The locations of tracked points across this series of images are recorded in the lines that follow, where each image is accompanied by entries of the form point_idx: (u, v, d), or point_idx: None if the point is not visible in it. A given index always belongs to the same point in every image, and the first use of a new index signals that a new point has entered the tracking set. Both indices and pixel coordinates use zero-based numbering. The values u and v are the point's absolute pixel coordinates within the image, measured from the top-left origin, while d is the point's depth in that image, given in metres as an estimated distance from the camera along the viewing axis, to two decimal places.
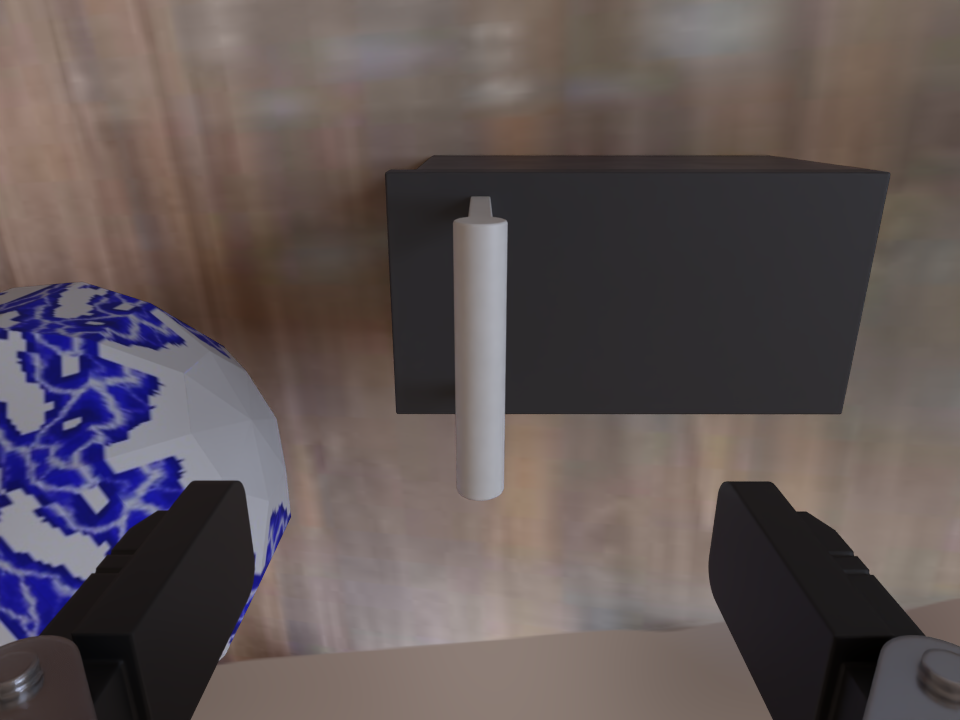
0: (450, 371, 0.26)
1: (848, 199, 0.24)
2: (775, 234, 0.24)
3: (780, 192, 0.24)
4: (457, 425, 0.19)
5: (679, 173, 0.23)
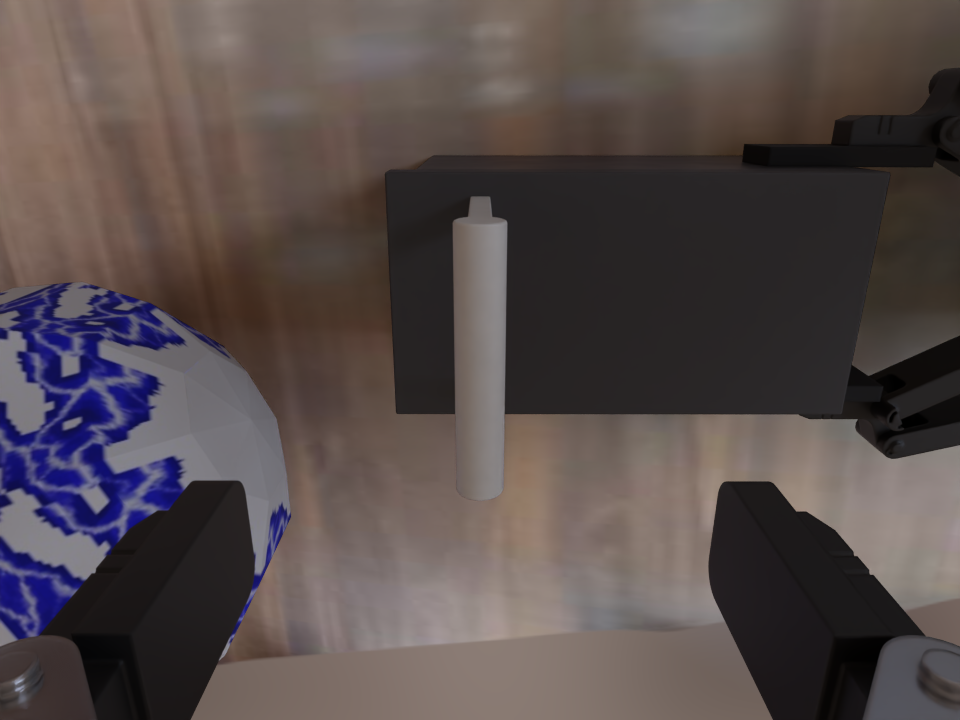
0: (449, 371, 0.26)
1: (848, 199, 0.24)
2: (775, 234, 0.24)
3: (781, 192, 0.24)
4: (456, 425, 0.19)
5: (679, 173, 0.23)
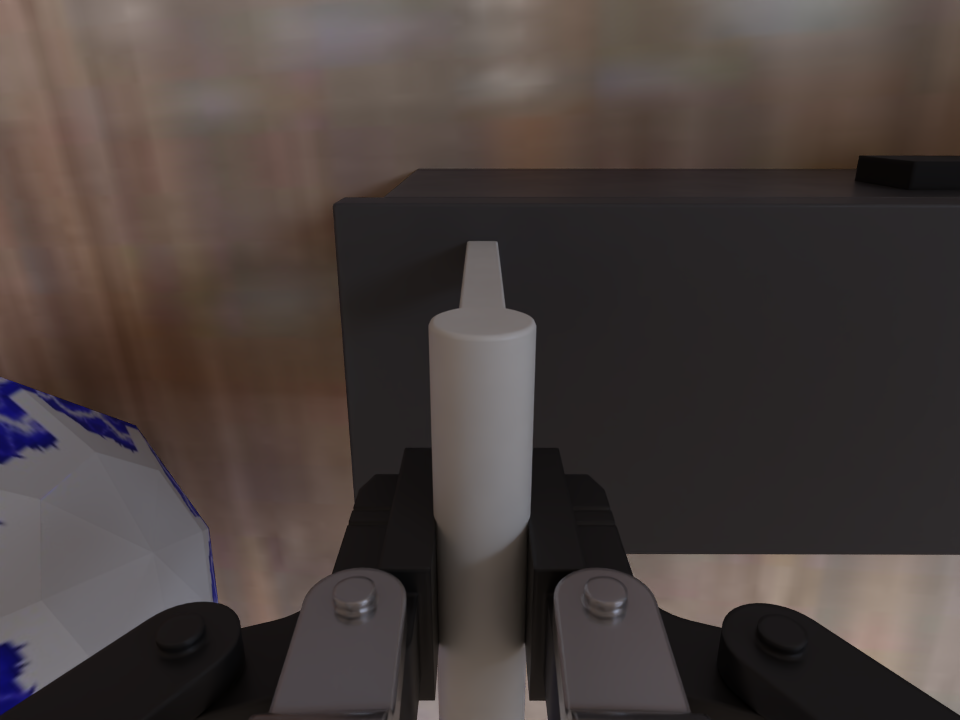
0: None
1: None
2: (938, 298, 0.16)
3: (953, 235, 0.15)
4: (440, 675, 0.10)
5: (795, 205, 0.15)
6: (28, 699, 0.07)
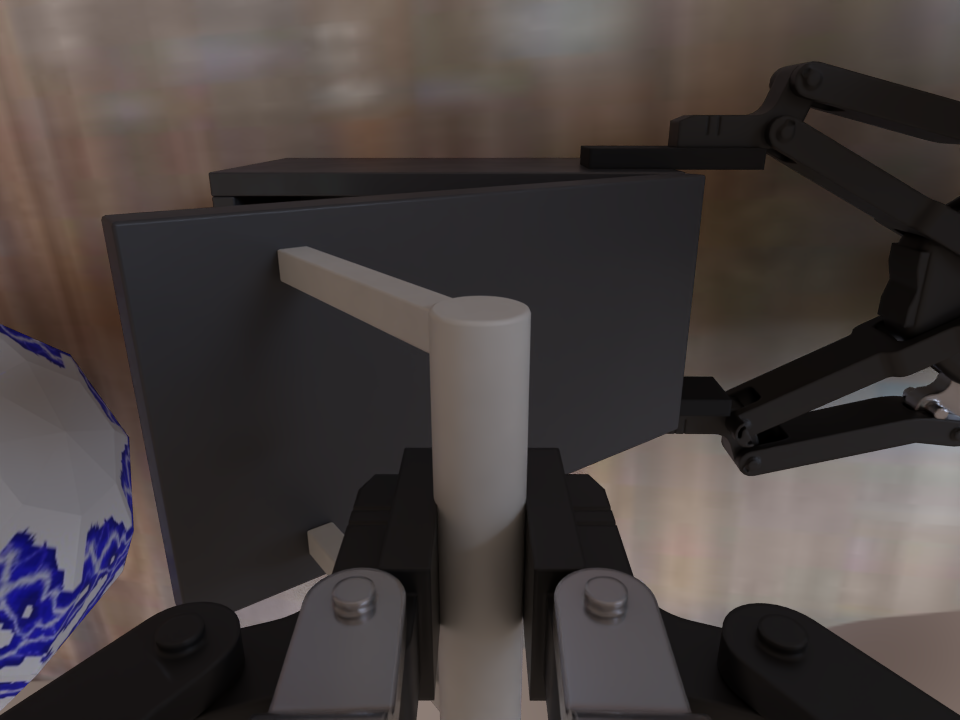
0: (272, 530, 0.16)
1: (678, 206, 0.22)
2: (625, 253, 0.21)
3: (627, 204, 0.20)
4: (457, 667, 0.11)
5: (537, 189, 0.18)
6: (26, 698, 0.07)
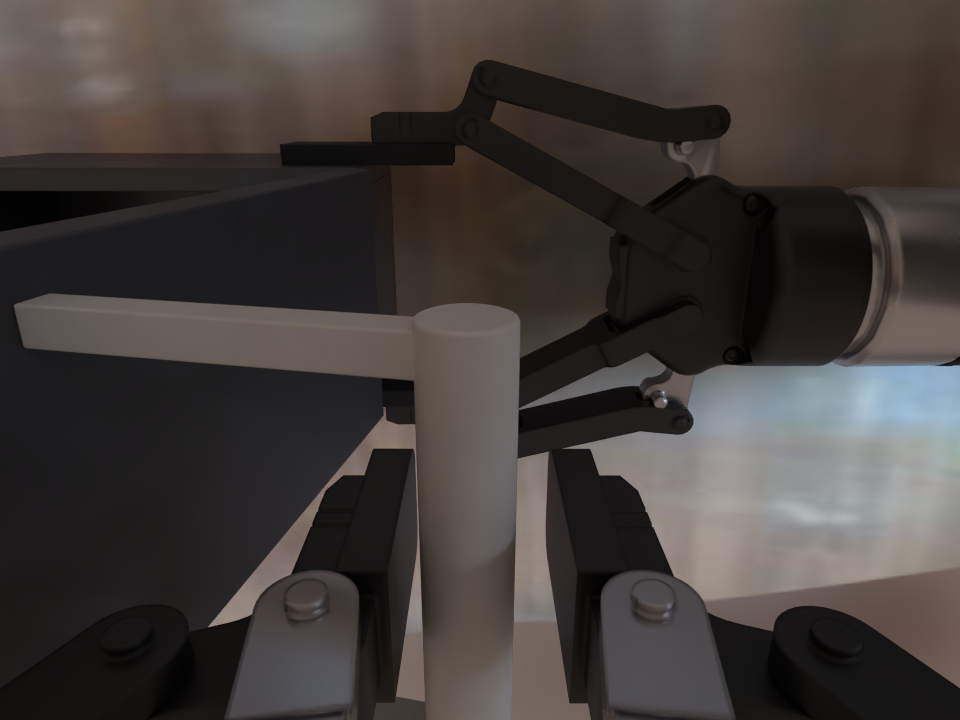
0: None
1: (358, 202, 0.22)
2: (330, 252, 0.20)
3: (327, 203, 0.20)
4: (476, 696, 0.10)
5: (261, 194, 0.16)
6: None
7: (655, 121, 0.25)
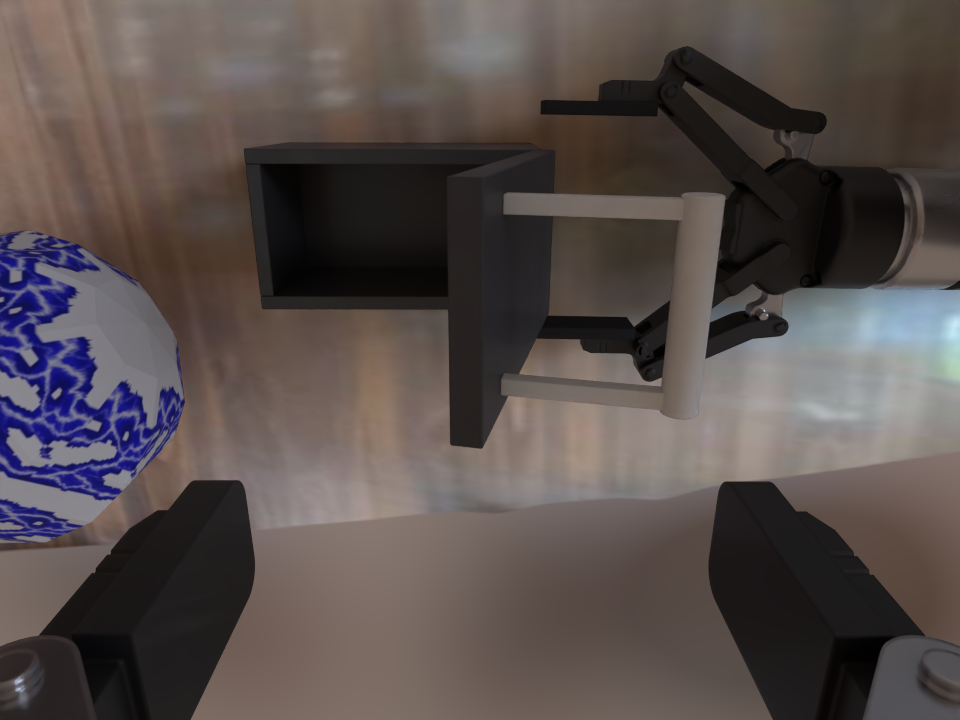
0: (495, 378, 0.25)
1: (551, 169, 0.36)
2: None
3: (545, 168, 0.34)
4: (693, 362, 0.24)
5: (535, 158, 0.30)
6: None
7: (780, 113, 0.39)
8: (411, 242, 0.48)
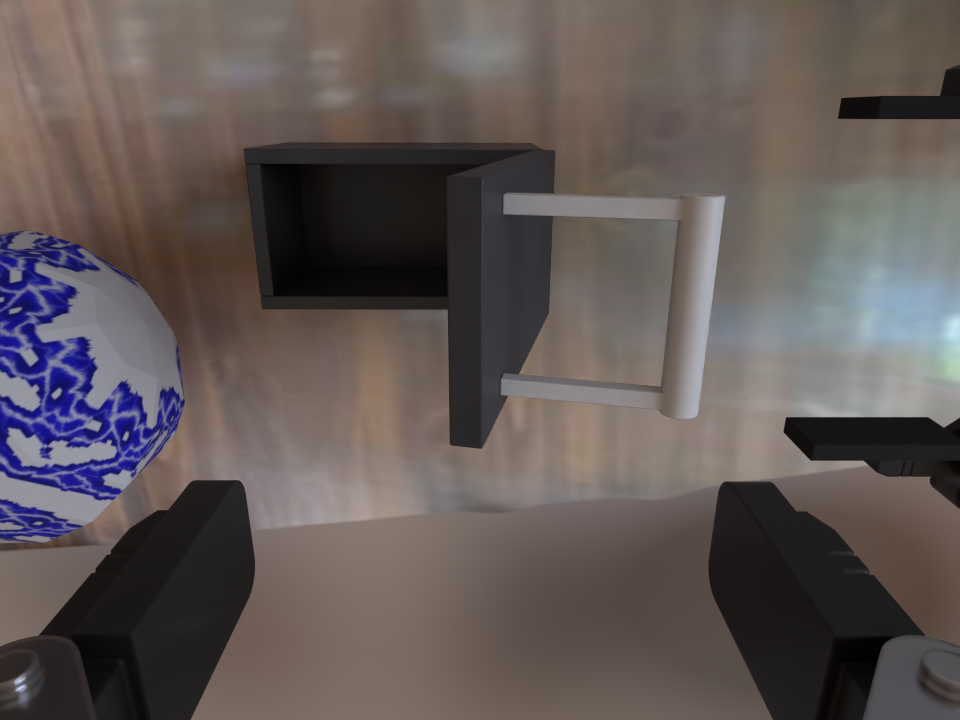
0: (495, 378, 0.25)
1: (551, 169, 0.36)
2: None
3: (545, 168, 0.34)
4: (693, 362, 0.24)
5: (534, 158, 0.30)
6: None
7: None
8: (411, 242, 0.48)
